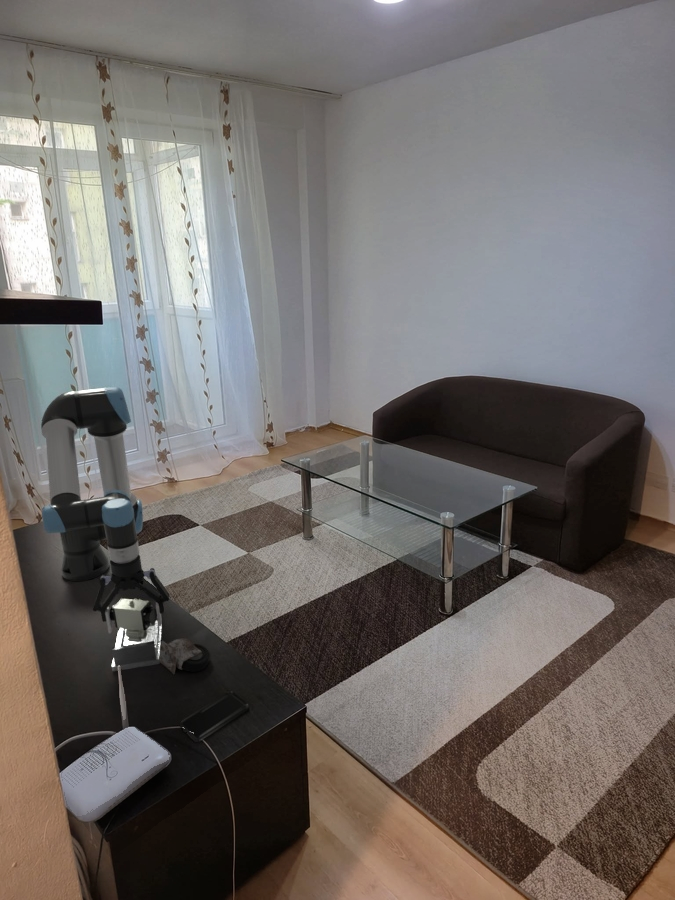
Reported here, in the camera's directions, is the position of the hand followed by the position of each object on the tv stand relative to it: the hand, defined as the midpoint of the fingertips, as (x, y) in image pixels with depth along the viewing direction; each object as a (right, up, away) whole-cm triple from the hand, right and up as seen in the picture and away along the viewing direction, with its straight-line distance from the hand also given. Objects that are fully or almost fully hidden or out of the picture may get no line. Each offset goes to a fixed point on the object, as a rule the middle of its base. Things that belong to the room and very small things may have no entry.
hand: (135, 626), depth 169 cm
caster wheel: (+15, -9, -4) cm, 18 cm away
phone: (+26, -15, -23) cm, 38 cm away
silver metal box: (0, -7, +2) cm, 7 cm away
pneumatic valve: (0, -4, +1) cm, 4 cm away
